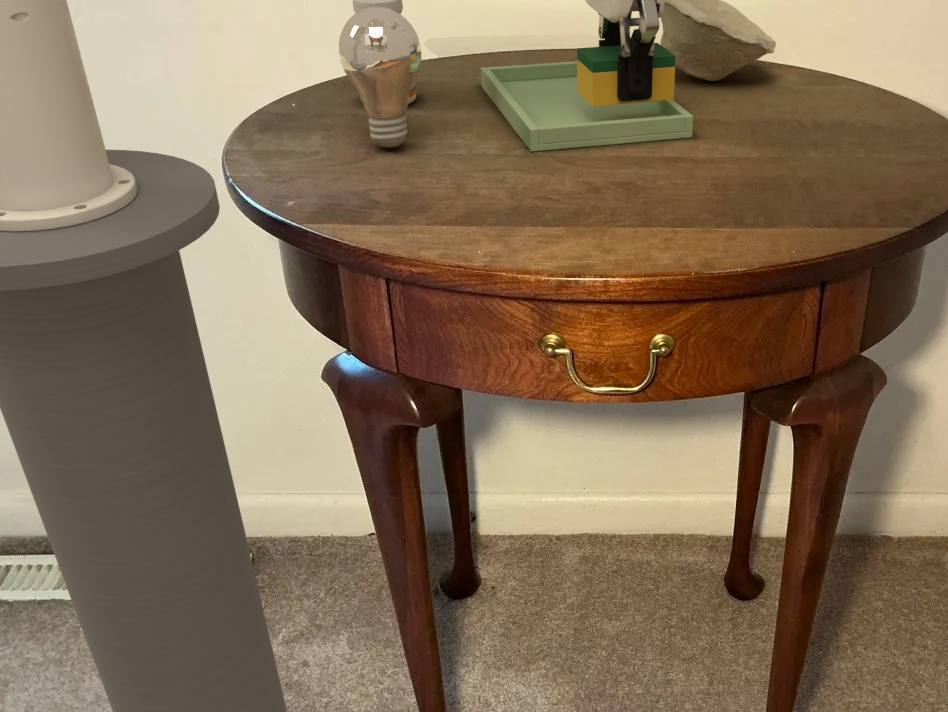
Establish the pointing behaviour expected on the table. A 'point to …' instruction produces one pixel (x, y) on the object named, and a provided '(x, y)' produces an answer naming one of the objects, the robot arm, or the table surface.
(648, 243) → the table surface
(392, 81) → the light bulb
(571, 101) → the tray
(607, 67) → the sponge
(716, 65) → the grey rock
